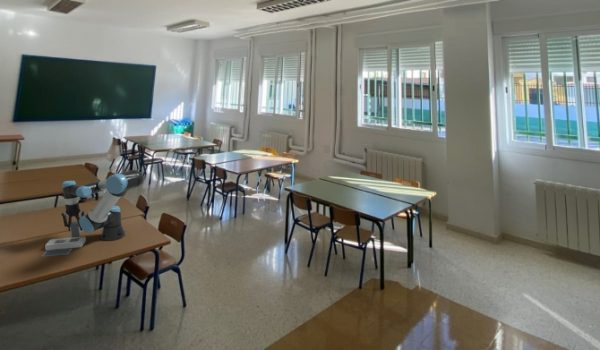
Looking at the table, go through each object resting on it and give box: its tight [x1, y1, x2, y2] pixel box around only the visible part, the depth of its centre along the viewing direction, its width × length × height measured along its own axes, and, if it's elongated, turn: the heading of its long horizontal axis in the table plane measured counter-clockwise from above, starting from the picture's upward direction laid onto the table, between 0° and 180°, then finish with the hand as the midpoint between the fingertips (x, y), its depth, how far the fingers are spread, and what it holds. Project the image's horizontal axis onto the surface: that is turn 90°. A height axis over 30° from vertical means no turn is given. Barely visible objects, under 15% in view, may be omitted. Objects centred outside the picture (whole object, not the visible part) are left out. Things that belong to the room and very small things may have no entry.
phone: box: [41, 248, 73, 258], centre depth 200 cm, size 7×14×1 cm, turn 108°
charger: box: [70, 220, 81, 238], centre depth 218 cm, size 4×4×10 cm
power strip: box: [44, 235, 87, 251], centre depth 209 cm, size 20×9×4 cm, turn 109°
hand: (76, 234), depth 219 cm, fingers closed on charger, 4 cm apart
